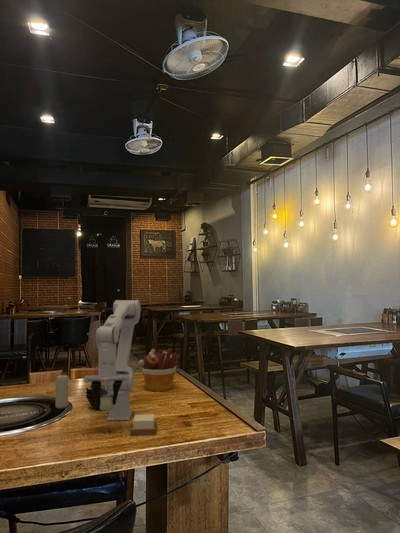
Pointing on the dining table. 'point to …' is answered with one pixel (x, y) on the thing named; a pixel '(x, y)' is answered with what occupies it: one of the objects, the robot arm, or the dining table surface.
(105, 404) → the green cylinder
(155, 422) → the base block
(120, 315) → the robot arm
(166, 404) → the dining table surface
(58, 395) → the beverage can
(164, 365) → the bucket of meat
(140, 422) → the top block
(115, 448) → the dining table surface
